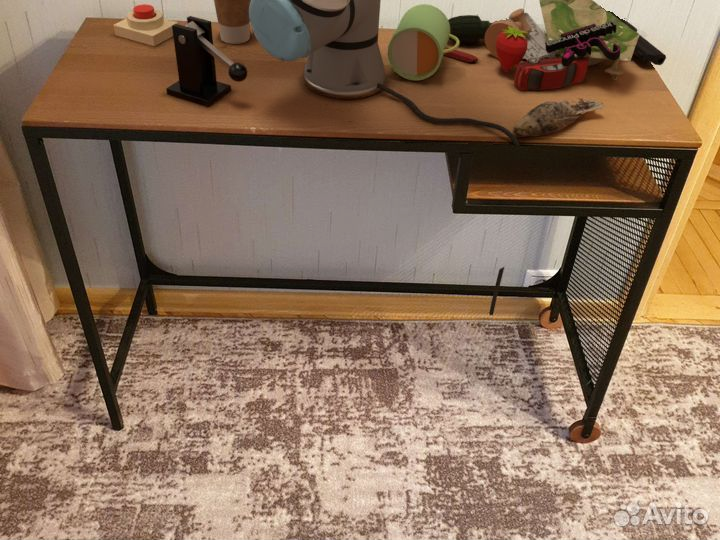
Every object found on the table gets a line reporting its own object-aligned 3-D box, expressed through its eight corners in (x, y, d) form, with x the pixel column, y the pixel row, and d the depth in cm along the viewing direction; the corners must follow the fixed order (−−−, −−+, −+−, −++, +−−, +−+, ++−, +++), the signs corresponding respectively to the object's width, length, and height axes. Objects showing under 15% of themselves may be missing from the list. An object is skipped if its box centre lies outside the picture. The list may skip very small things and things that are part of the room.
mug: (399, 55, 146) (387, 80, 137) (399, 3, 140) (387, 26, 131) (461, 58, 144) (454, 84, 135) (464, 6, 137) (456, 29, 128)
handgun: (696, 73, 150) (640, 66, 144) (621, 17, 170) (569, 8, 164) (705, 57, 148) (648, 49, 142) (628, 2, 168) (576, -7, 162)
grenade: (442, 43, 152) (497, 45, 154) (448, 42, 146) (506, 43, 148) (443, 15, 151) (499, 17, 152) (450, 13, 145) (508, 14, 146)
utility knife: (474, 64, 143) (478, 61, 145) (475, 59, 143) (479, 56, 144) (422, 49, 148) (427, 46, 149) (423, 44, 147) (427, 41, 148)
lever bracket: (231, 91, 131) (226, 22, 122) (208, 107, 126) (201, 36, 117) (190, 79, 134) (182, 10, 125) (166, 94, 129) (156, 24, 120)
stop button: (159, 15, 146) (158, 7, 145) (146, 22, 143) (145, 13, 142) (143, 11, 147) (142, 2, 146) (130, 17, 144) (128, 9, 143)
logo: (611, 18, 137) (635, 46, 130) (610, 25, 138) (634, 53, 132) (543, 39, 137) (564, 69, 131) (543, 47, 138) (564, 76, 132)
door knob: (499, 6, 149) (515, 41, 153) (478, 29, 144) (494, 64, 147) (532, -6, 143) (548, 30, 147) (511, 18, 138) (528, 54, 142)
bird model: (503, 106, 120) (497, 132, 123) (529, 121, 117) (523, 148, 120) (585, 80, 130) (577, 105, 134) (611, 93, 127) (603, 119, 130)
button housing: (179, 32, 149) (177, 13, 146) (154, 46, 143) (151, 27, 141) (141, 22, 152) (138, 3, 149) (115, 35, 146) (111, 16, 144)
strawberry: (515, 62, 145) (524, 13, 138) (526, 79, 139) (537, 29, 133) (486, 62, 144) (495, 13, 137) (497, 80, 138) (506, 29, 132)
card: (552, -15, 154) (552, -18, 153) (671, 2, 141) (672, -2, 140) (502, 46, 144) (501, 43, 143) (625, 70, 131) (625, 66, 131)
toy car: (516, 54, 135) (527, 67, 131) (586, 53, 139) (599, 65, 135) (508, 80, 138) (519, 94, 135) (577, 79, 142) (589, 92, 139)
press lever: (247, 81, 125) (253, 68, 123) (236, 88, 123) (243, 75, 121) (189, 32, 125) (195, 17, 122) (178, 38, 123) (183, 24, 120)
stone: (572, 51, 143) (524, 62, 142) (570, 66, 146) (523, 77, 145) (527, 4, 158) (484, 14, 157) (526, 19, 161) (484, 28, 160)
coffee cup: (207, 43, 145) (200, -34, 136) (223, 27, 152) (217, -48, 142) (247, 49, 144) (242, -28, 134) (261, 32, 150) (258, -42, 141)
